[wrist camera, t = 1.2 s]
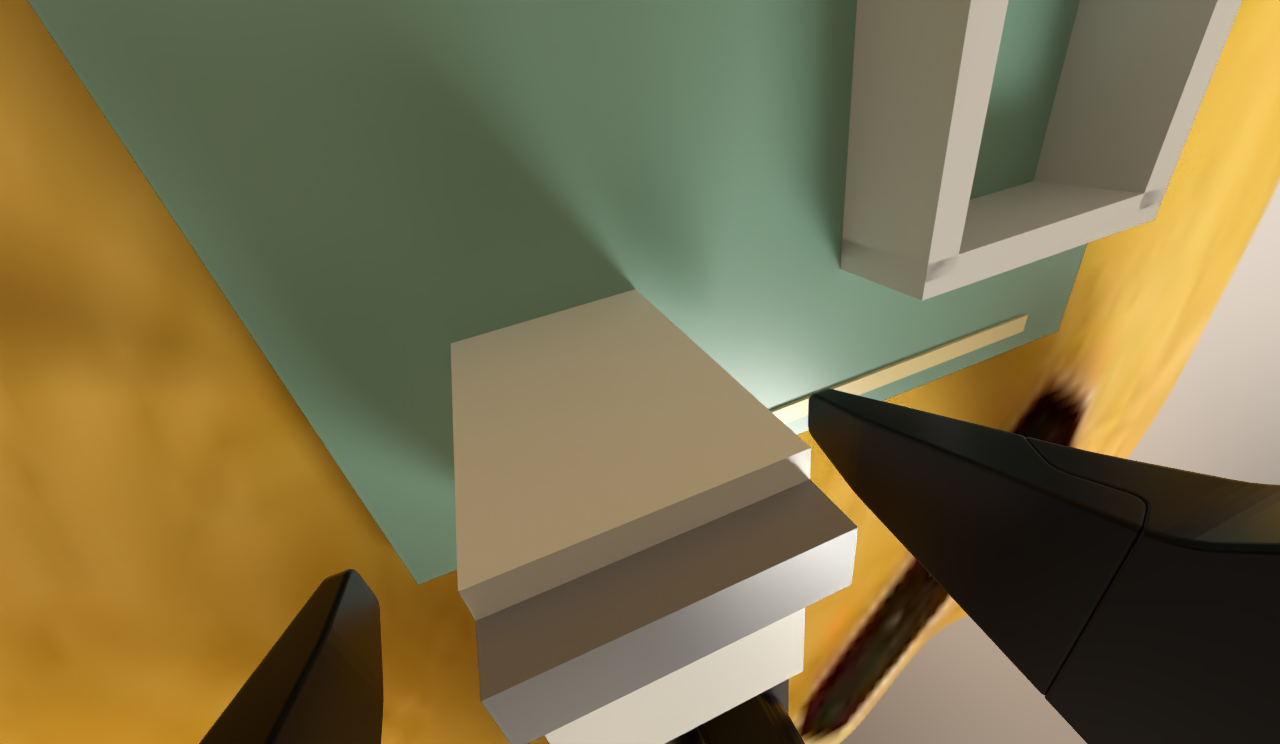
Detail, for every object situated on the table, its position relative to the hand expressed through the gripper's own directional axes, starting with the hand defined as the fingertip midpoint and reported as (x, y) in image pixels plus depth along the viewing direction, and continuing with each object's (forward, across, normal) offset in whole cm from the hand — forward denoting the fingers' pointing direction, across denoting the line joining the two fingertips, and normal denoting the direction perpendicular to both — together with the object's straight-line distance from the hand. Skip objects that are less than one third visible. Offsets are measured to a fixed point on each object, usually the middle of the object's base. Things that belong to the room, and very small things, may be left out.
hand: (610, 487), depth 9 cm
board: (+4, -6, -4) cm, 8 cm away
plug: (+3, 0, 0) cm, 3 cm away
